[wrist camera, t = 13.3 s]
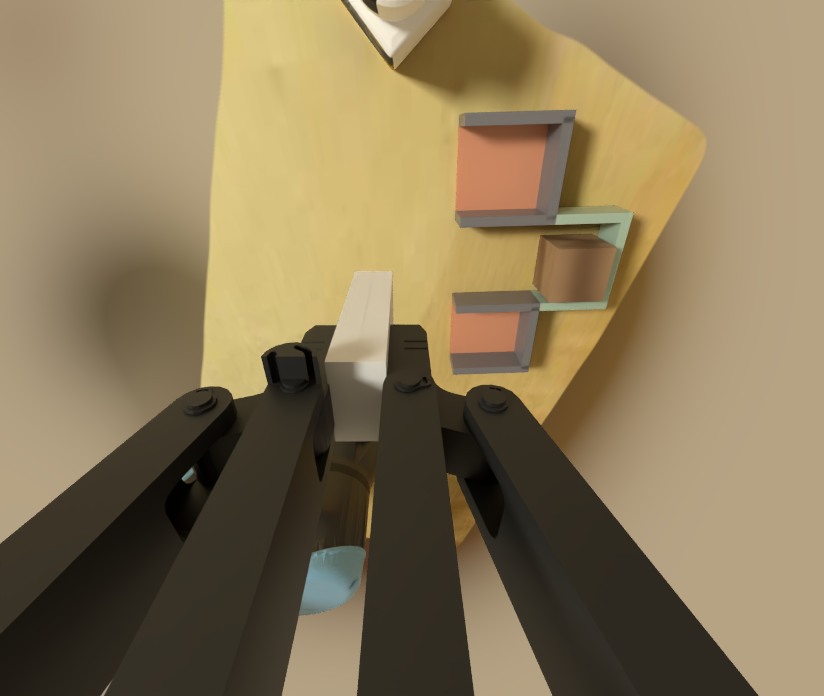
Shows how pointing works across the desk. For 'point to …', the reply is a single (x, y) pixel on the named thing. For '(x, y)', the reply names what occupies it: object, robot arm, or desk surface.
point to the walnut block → (573, 267)
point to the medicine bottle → (396, 24)
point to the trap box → (516, 206)
